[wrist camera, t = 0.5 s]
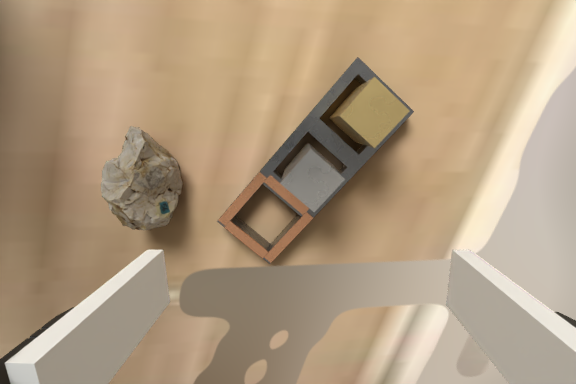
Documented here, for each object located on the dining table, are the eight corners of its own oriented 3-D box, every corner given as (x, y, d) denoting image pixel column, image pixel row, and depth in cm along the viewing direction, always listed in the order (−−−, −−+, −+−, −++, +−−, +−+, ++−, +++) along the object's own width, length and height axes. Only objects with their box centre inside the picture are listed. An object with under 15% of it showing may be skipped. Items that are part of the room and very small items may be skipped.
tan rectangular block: (329, 118, 36) (339, 115, 27) (354, 89, 35) (374, 76, 26) (354, 141, 37) (374, 148, 27) (380, 114, 36) (409, 110, 26)
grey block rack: (222, 215, 40) (216, 221, 37) (353, 61, 35) (358, 56, 32) (271, 255, 41) (269, 264, 38) (406, 112, 36) (414, 111, 33)
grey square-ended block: (285, 168, 38) (280, 183, 28) (307, 142, 37) (310, 148, 27) (310, 190, 39) (314, 212, 29) (333, 165, 38) (345, 179, 28)
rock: (182, 235, 39) (135, 239, 30) (138, 224, 40) (79, 225, 30) (203, 150, 40) (164, 126, 31) (160, 141, 41) (110, 116, 31)
